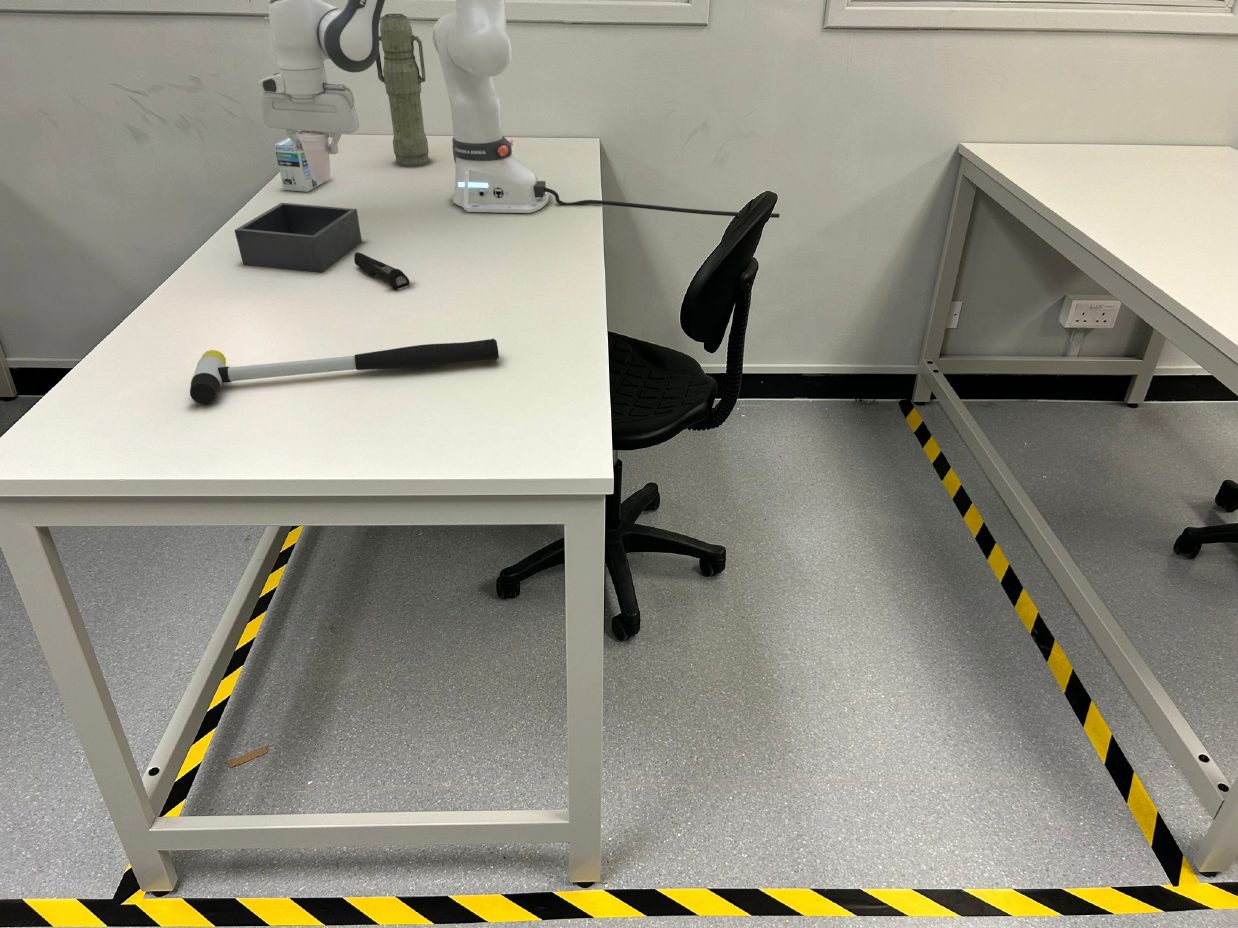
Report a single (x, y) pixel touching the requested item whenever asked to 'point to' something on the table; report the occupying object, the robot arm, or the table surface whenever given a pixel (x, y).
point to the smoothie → (316, 153)
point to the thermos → (403, 89)
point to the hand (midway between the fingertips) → (316, 152)
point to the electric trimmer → (382, 271)
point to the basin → (299, 237)
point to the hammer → (335, 364)
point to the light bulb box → (294, 167)
